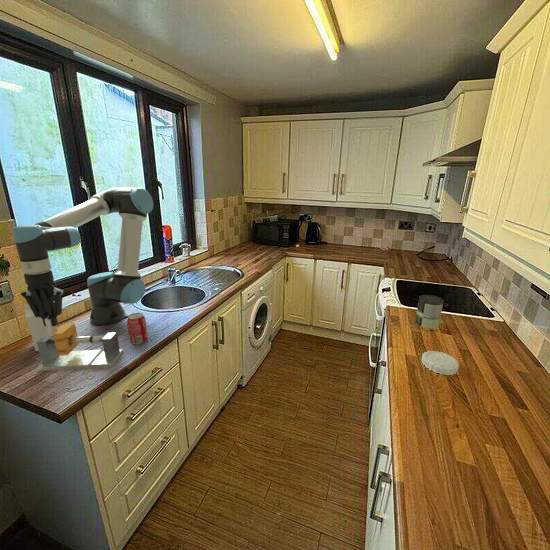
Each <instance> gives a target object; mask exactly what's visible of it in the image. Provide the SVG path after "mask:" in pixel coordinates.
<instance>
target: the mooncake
mask: <svg viewBox="0 0 550 550" xmlns="http://www.w3.org/2000/svg"><path fill="white" fill-rule="evenodd" d="M421 361H422V363H423V365H425V367H426V368H429V370H432V371H434V372H436V373H440V374H445V375H453V374H457V373H458V372H459V368H460V363H459V362H458V360H457V359H456V358H454V357H453V356H450V354H448V353H445V352H442V351H435V350H428V351H425V352H423V354H422V356H421ZM421 361H420V362H421ZM422 363H421V364H422ZM425 367H424V368H425ZM429 370H428V371H429ZM456 372H457V373H456ZM453 376H454V375H453Z"/></svg>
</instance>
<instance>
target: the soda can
mask: <svg viewBox="0 0 550 550" xmlns="http://www.w3.org/2000/svg"><path fill="white" fill-rule="evenodd" d="M126 324H127V325H126V326H127V330H128V337H129V341H130V344H133V345H142V344H143V343H145V342H147V340H148V339H149V336H148V335H149V334H148V327H147V321H146V317H145V316H144V314H143V313H141V312H135V313H131V314H129V315H128V316H127V321H126Z"/></svg>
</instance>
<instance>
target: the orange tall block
mask: <svg viewBox="0 0 550 550" xmlns="http://www.w3.org/2000/svg"><path fill="white" fill-rule="evenodd" d="M53 337H54V341H55V345H56V349H57V353H58V356H63V355H68V354H69V353H70V352H71V351H74V349H76V348H77V347H78V346H79V345H80V343H70V344H69V342H68V338H69V337H79V336H78V331H77V326H76V324H75V323H73V322H71V323H69V322H68V323H65V324H64V325H62V326H61V327H60V328H57V331H56V332H54V333H53Z"/></svg>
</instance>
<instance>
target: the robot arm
mask: <svg viewBox="0 0 550 550" xmlns="http://www.w3.org/2000/svg"><path fill="white" fill-rule="evenodd" d="M153 209H154V201H153V197H152V195H151V193H150V192H149V191H148V190H147V189H145V188H143V187H136V186H133V187H124V186H123V187H120V186H117V187H112V188H109V189H106V190H103V191H101V192H98V193H96V194H94V195H92V196H91V197H90V199H88V200H86V201H85V202H83V203H80V204H78V205H76V206H74V207H71V208H68V209H67V210H65V211H62V212H60V213H58V214H55V215H54V216H51V217H49V218H47V219H44V220H42V221H39V222H37V223H35V224H26V225H25V224H23V225H17V226H14V227H13V228H12V236H13V242H14V245H15V247H16V252H17V255H18V259H19V262H20V266H21V269H22V272H23V273H24V274H23V277H24V278H23V279H24V282H25V284H26V290H24V291H22V292H21V293H20V296H22V297H23V298H24V299H25V301H26V303H27V304H28V305H29V306H30V308H31V310H32V312H33V313H34V315H35V317H40V318H42V320H43V323H44V326H46V327H47V331H48V335H49V336H53V333H54V332H56V331H57V330H58V326H57V325H58V324H59V321H58V318H57V317H58V316H60V315H61V314H62V313H63V312H62V311H63V295H64V293H65V289H64V288H63V289H62V288H61V289H60V288H57V286H56V284H55V283H54V280H55V279H54V275H53V271H52V270H51V269H52V265H51V260H50V257H49V252H53V251H58V250H63V249H68V248H69V249H71V248H73V247H77V246H78V245H79V244H80V243H81V240H82V238H81V234H80V232H79V230H78V229H77V228H79V227H80V226H83V225H84V224H87V223H89V222H90V221H93V220H94V219H97V218H98V217H100V216H104V217H105V216H107V215H109V214H113V213H118V215H119V216H120V217H121V229H120V239H119V249H118V250H119V251H118V261H117V270H116V271H115V272H113V271H107V272H101V273H100V272H99V273H97V274H93V275H90V276H89V277H88V278H87V279H86V282H87V289H88V293H89V297H90V301H91V310H90V317H89V319H90V323H91V324H92V325H94V326H106V325H111V324H115V323H117V322H120V321H122V320H123V319H125V317H126V311H125V309H124V307H123V306H122V304H125V305H126V304H127V305H128V304H129V305H134V304H137V303H139V302H140V301H141V300H142V299H143V297H144V295H145V294H146V293H145V292H146V287H147V286H146V284H145V282H144V281H143V280H142V275H141V274H140V273H139V266H140V265H139V264H140V254H141V252H140V251H141V243H142V230H143V222H145V221H146V220H147V215H148V214H150V213H151V212H152V211H153ZM121 303H122V304H121ZM48 316H49V317H48Z"/></svg>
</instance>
